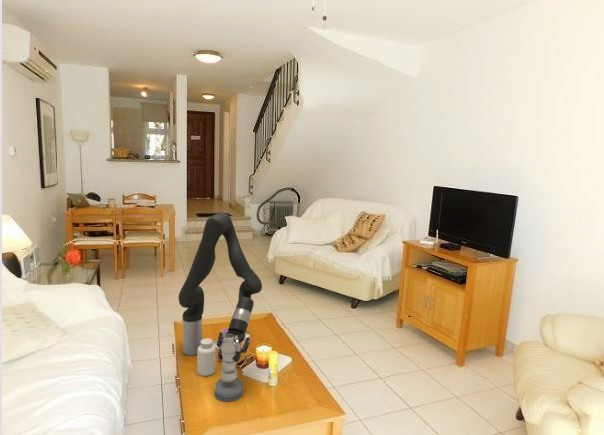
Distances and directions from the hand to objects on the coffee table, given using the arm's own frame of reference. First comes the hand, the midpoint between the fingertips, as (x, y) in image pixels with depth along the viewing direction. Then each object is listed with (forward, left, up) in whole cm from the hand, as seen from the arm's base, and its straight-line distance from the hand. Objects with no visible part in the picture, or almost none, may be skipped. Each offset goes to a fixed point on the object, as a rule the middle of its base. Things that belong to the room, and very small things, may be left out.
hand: (227, 360), depth 169 cm
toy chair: (-26, +12, -16) cm, 33 cm away
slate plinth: (-1, +1, -16) cm, 16 cm away
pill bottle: (-21, -1, -16) cm, 26 cm away
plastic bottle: (-1, +1, -11) cm, 11 cm away
